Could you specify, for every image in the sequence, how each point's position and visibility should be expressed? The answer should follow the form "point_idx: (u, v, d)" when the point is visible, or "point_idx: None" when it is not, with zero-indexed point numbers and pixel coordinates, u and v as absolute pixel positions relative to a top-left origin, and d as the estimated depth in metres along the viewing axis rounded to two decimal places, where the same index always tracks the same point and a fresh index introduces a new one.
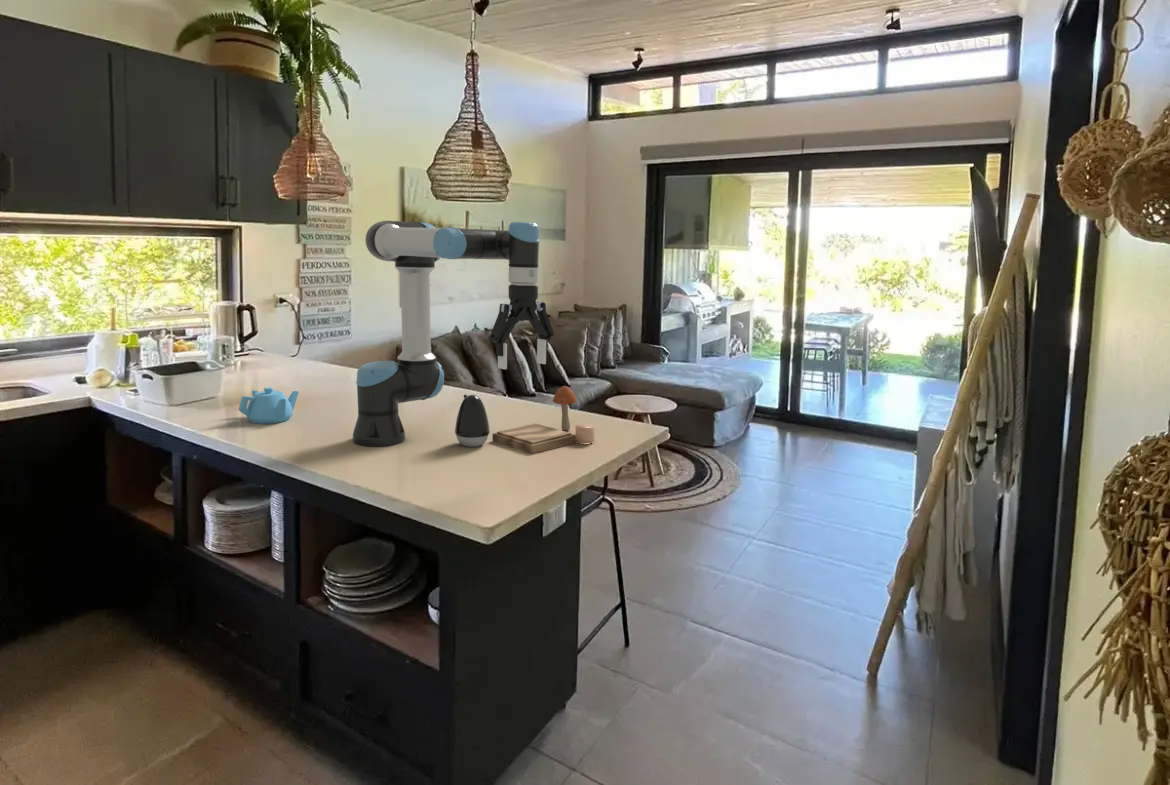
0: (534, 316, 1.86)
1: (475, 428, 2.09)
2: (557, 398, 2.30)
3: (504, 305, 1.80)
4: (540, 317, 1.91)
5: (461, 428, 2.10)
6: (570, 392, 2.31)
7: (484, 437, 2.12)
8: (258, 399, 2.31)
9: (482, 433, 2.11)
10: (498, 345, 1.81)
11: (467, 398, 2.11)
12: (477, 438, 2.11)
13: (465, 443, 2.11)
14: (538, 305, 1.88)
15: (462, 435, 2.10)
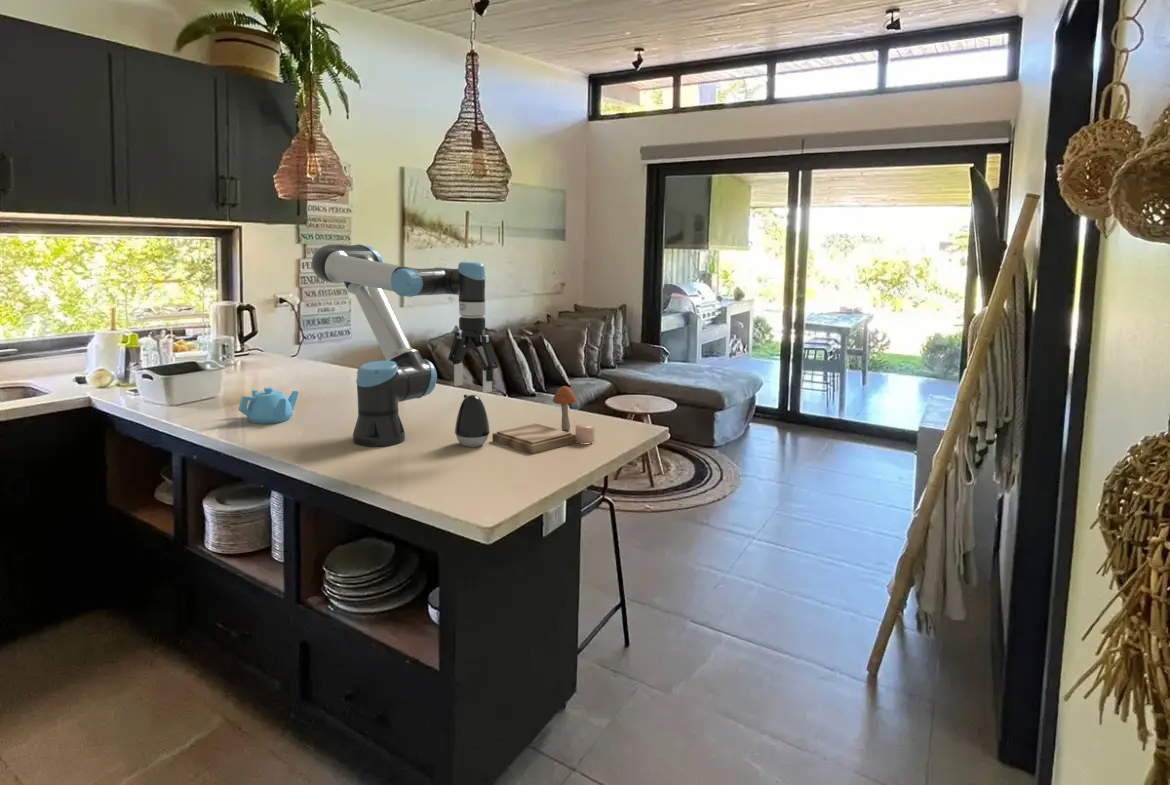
0: (473, 346, 2.06)
1: (476, 428, 2.09)
2: (557, 398, 2.30)
3: None
4: None
5: (461, 428, 2.10)
6: (570, 392, 2.31)
7: (484, 437, 2.12)
8: (258, 399, 2.31)
9: (482, 433, 2.11)
10: None
11: (467, 398, 2.11)
12: (477, 438, 2.11)
13: (465, 443, 2.11)
14: None
15: (462, 435, 2.10)
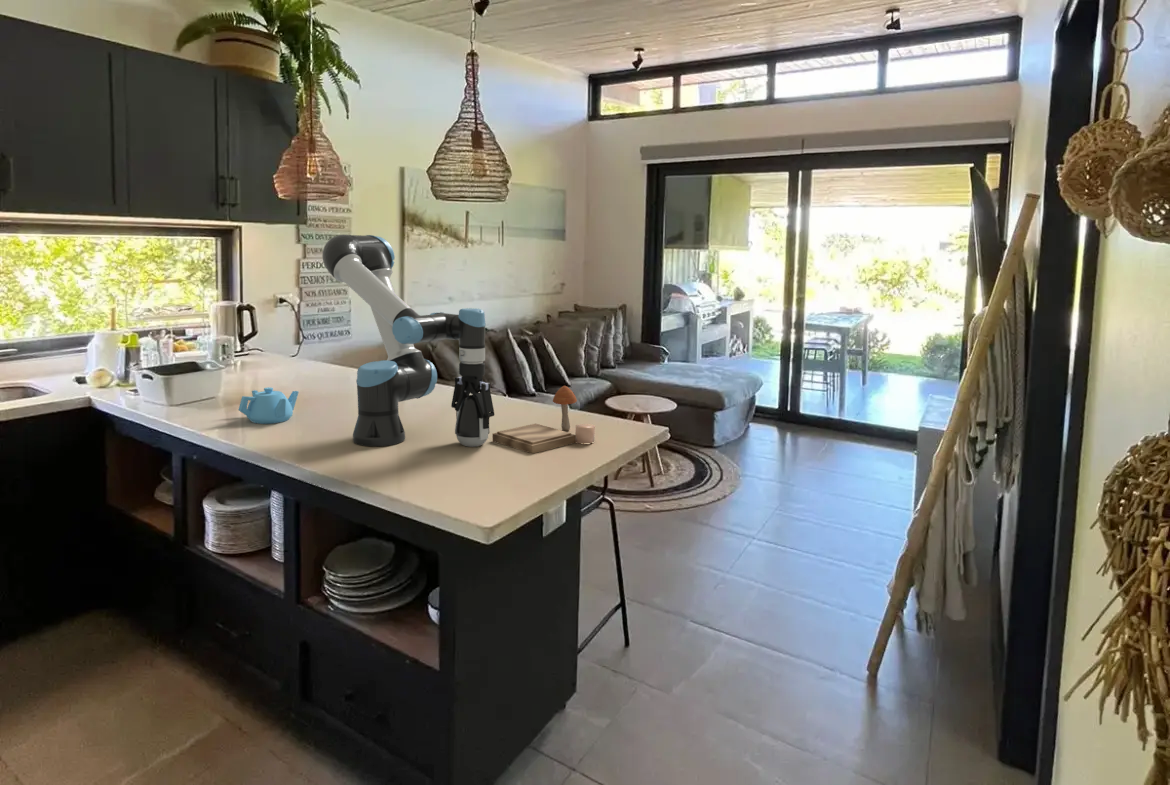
0: (472, 391, 2.09)
1: (475, 428, 2.10)
2: (557, 398, 2.30)
3: None
4: None
5: (461, 428, 2.10)
6: (570, 392, 2.31)
7: None
8: (258, 399, 2.31)
9: None
10: None
11: (467, 398, 2.11)
12: (477, 438, 2.11)
13: (465, 443, 2.11)
14: (481, 384, 2.08)
15: (462, 435, 2.10)
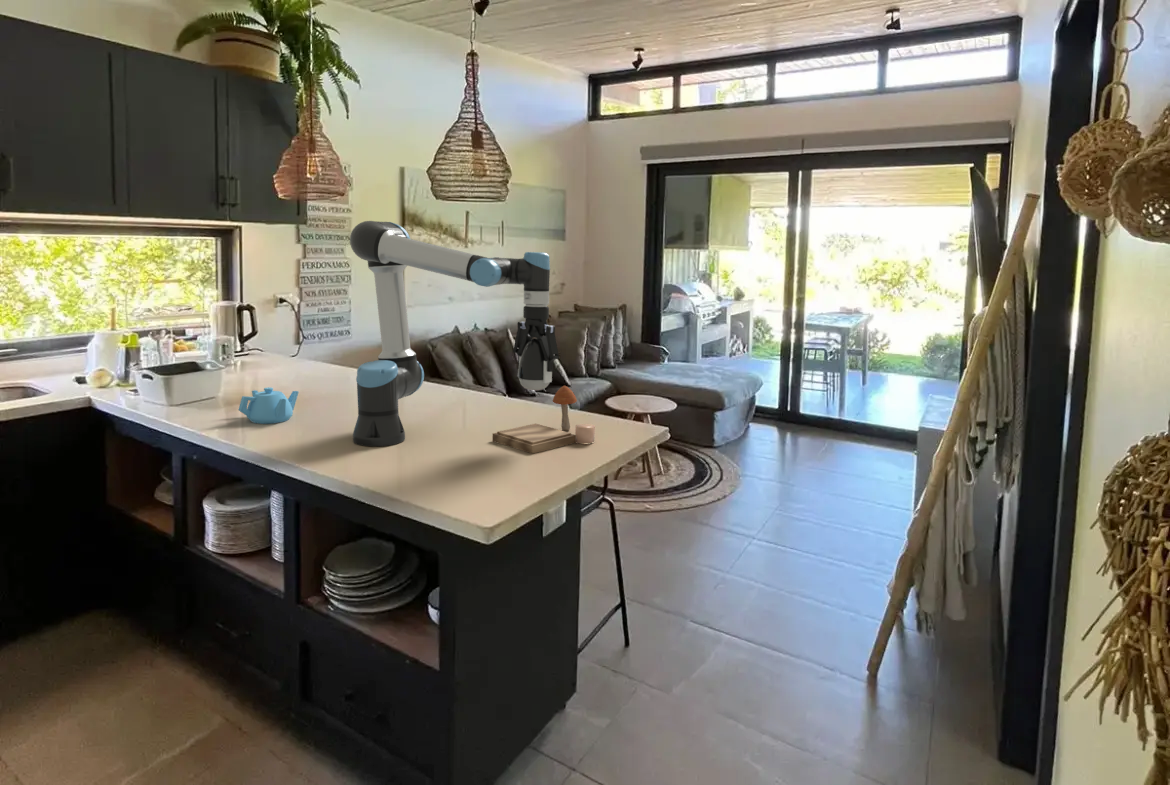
0: (536, 335, 2.11)
1: (540, 371, 2.11)
2: (557, 398, 2.30)
3: None
4: None
5: (525, 371, 2.11)
6: (570, 392, 2.31)
7: None
8: (258, 399, 2.31)
9: None
10: None
11: (531, 341, 2.12)
12: (541, 381, 2.12)
13: (529, 386, 2.13)
14: None
15: (526, 378, 2.11)
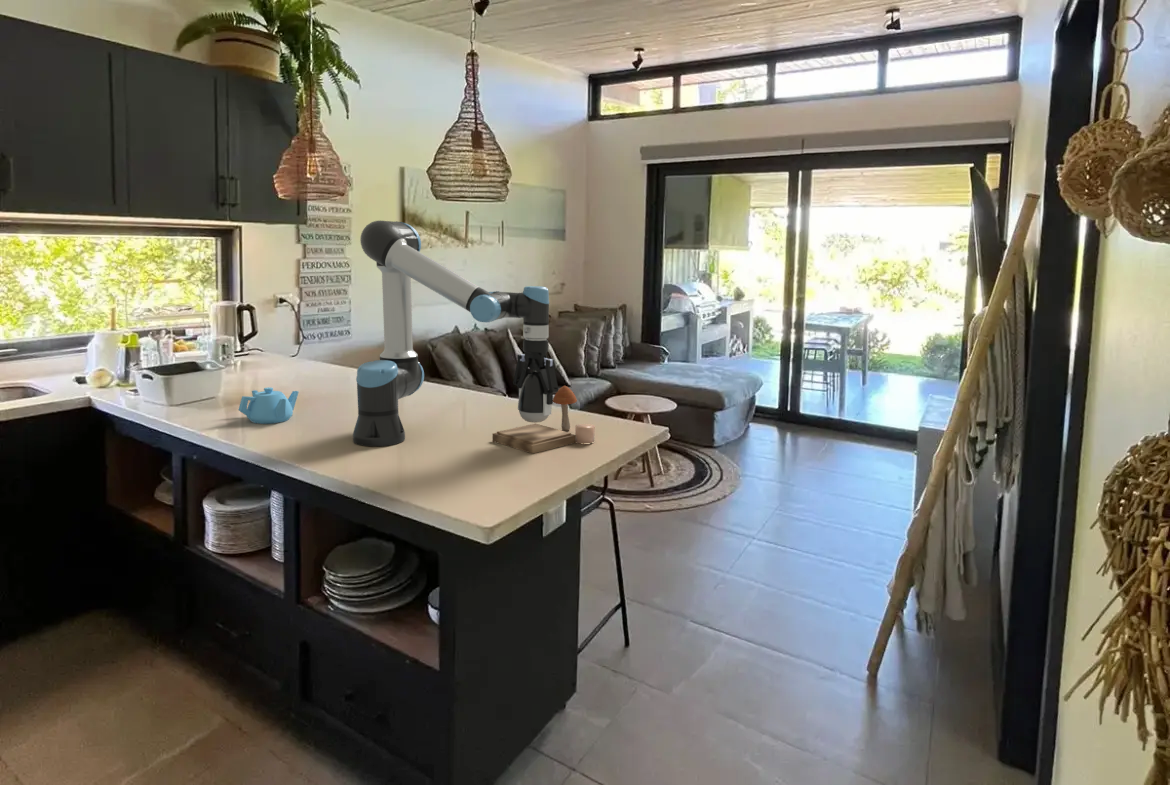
0: (536, 368, 2.13)
1: (539, 403, 2.13)
2: (557, 398, 2.30)
3: None
4: None
5: (525, 404, 2.13)
6: (570, 392, 2.31)
7: None
8: (258, 399, 2.31)
9: None
10: None
11: (530, 374, 2.14)
12: (541, 414, 2.14)
13: (528, 419, 2.15)
14: (546, 360, 2.11)
15: (526, 411, 2.13)
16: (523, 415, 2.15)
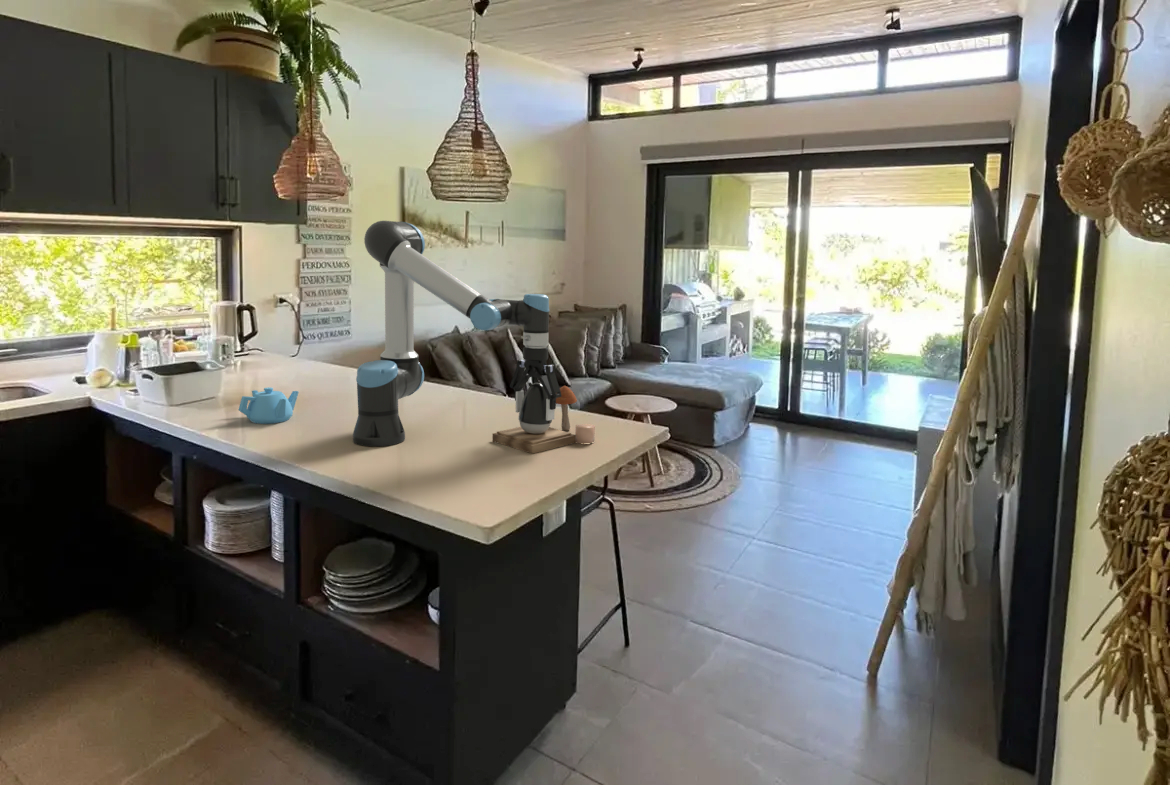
0: (536, 375, 2.13)
1: (540, 415, 2.14)
2: (557, 398, 2.30)
3: None
4: None
5: (526, 415, 2.14)
6: (570, 392, 2.31)
7: (547, 425, 2.16)
8: (258, 399, 2.31)
9: (545, 421, 2.15)
10: None
11: (533, 386, 2.15)
12: (541, 425, 2.15)
13: (528, 429, 2.15)
14: (545, 367, 2.12)
15: (526, 421, 2.14)
16: (523, 426, 2.16)
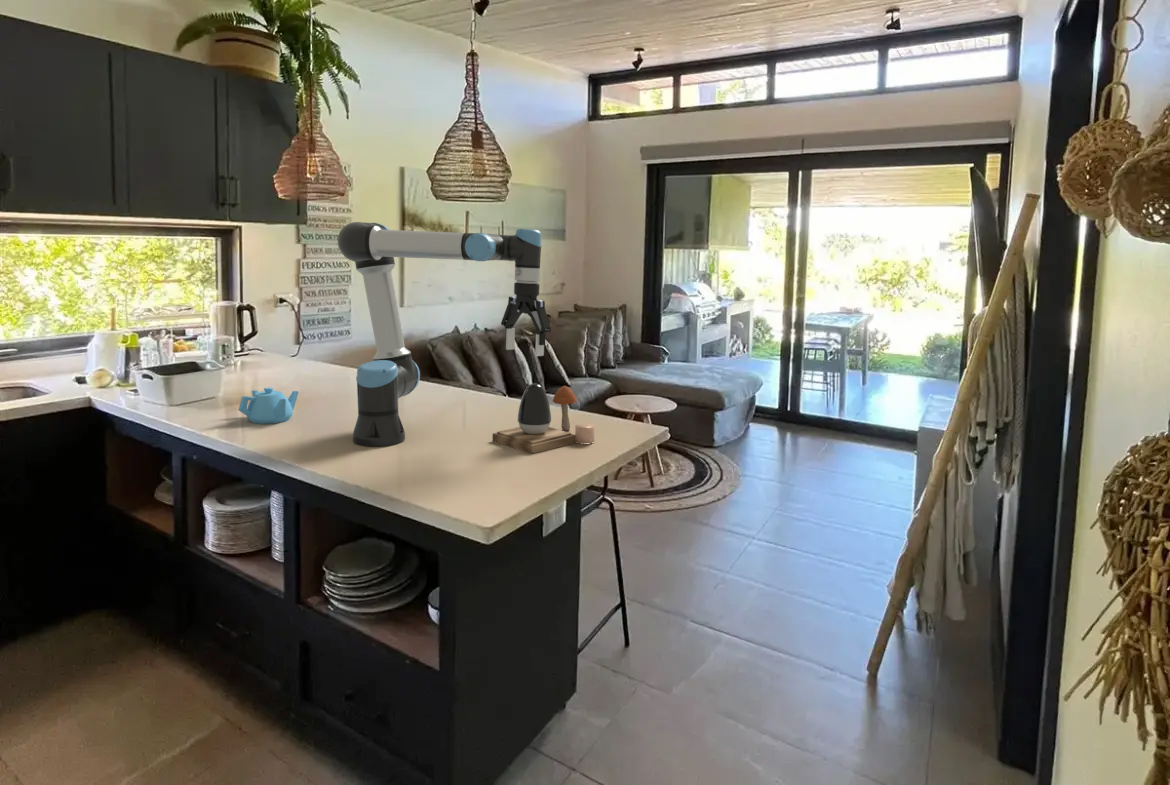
0: (527, 310, 2.13)
1: (539, 416, 2.14)
2: (557, 398, 2.30)
3: None
4: None
5: (525, 416, 2.14)
6: (570, 392, 2.31)
7: (546, 425, 2.16)
8: (258, 399, 2.31)
9: (544, 421, 2.15)
10: None
11: (530, 386, 2.15)
12: (540, 426, 2.15)
13: (528, 431, 2.15)
14: (536, 302, 2.12)
15: (525, 423, 2.14)
16: (523, 427, 2.16)
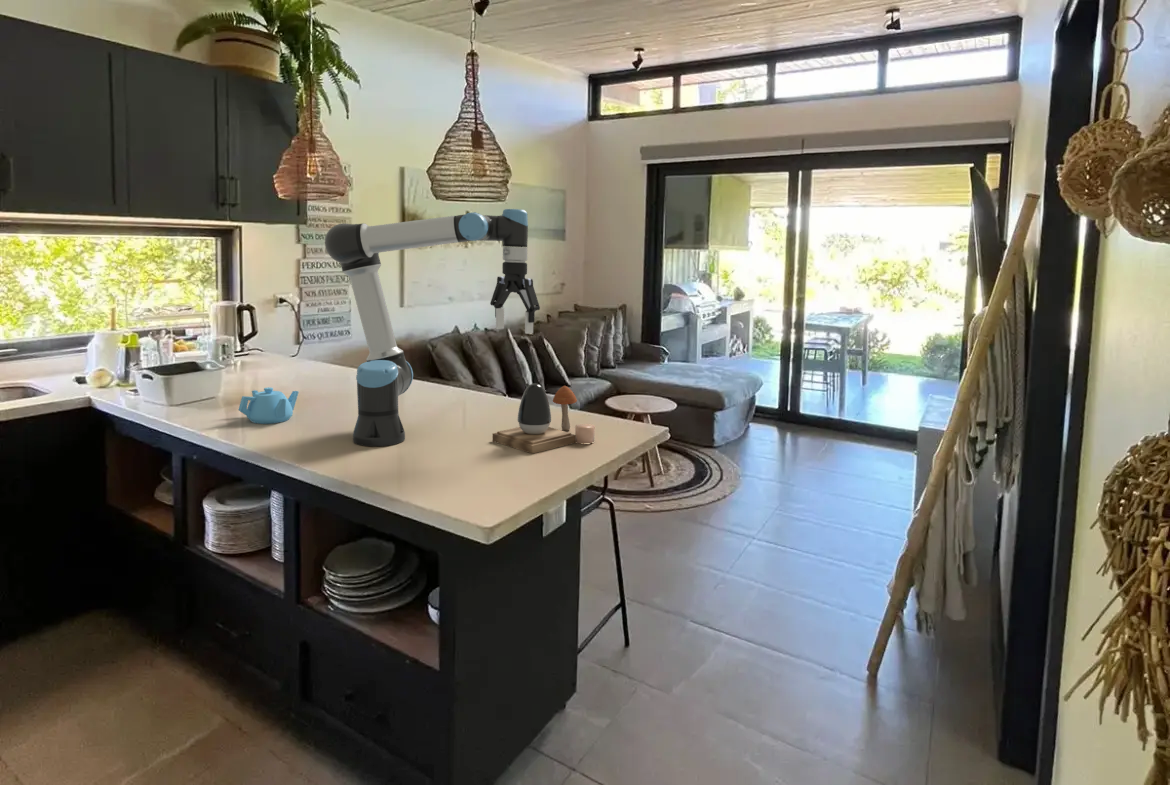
0: (515, 289, 2.18)
1: (539, 416, 2.14)
2: (557, 398, 2.30)
3: None
4: None
5: (525, 416, 2.14)
6: (570, 392, 2.31)
7: (546, 425, 2.16)
8: (258, 399, 2.31)
9: (544, 421, 2.15)
10: None
11: (530, 387, 2.15)
12: (540, 426, 2.15)
13: (528, 431, 2.15)
14: None
15: (525, 423, 2.14)
16: (523, 427, 2.16)
